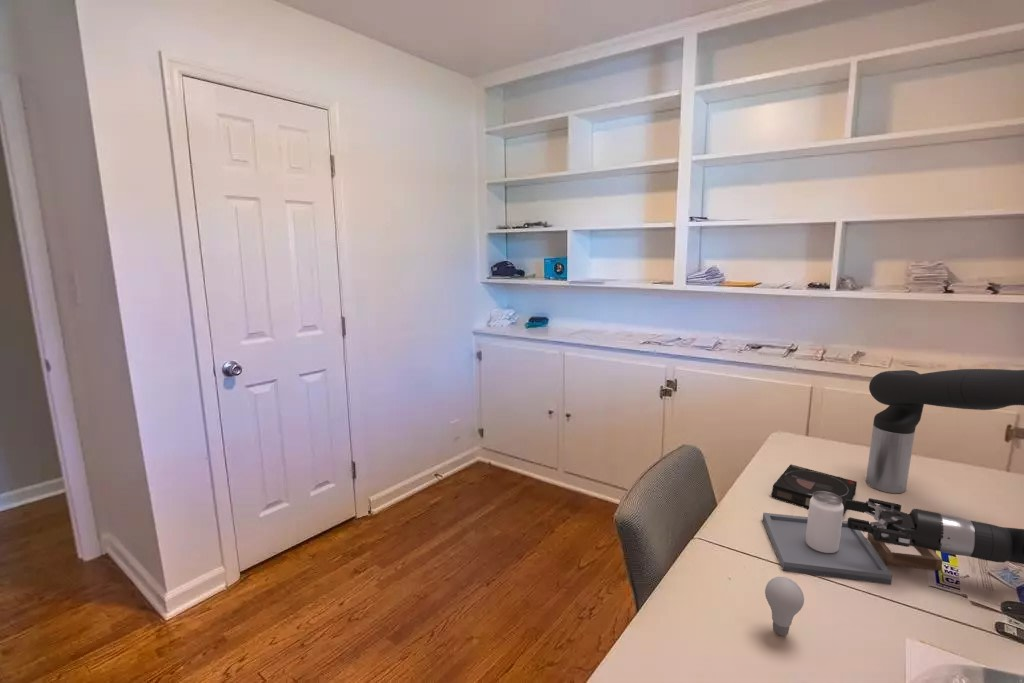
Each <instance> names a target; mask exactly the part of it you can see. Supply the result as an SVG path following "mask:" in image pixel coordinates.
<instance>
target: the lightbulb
mask: <svg viewBox="0 0 1024 683" xmlns="http://www.w3.org/2000/svg"><path fill="white" fill-rule="evenodd" d="M764 594H765V599H766V601H767V603H768V606H769V607H770V610H771V620H772V631H773V632H774V633H776V634H777V635H779V636H784V637H785V636H787V635H788V634H789V631H790V627H791V625H792V623H793V622H792V621H793V620H794V617H795V616H796V615H797V614H799V612H800V611H801V610H802V608H803V607H804V605H805V596H804V592H803V591H802V588H801V587H800V586H799V584H798V583H797V582H796V581H794V580H792V579H791V578H789V577H785V576H775V577H772V578H771V579H770V580H769V581H767V583H766V585H765V589H764Z"/></svg>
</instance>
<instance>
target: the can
mask: <svg viewBox="0 0 1024 683" xmlns="http://www.w3.org/2000/svg"><path fill="white" fill-rule="evenodd" d="M843 511H844V506H843V504H842V498H841V497H839V496H838V495H836V494H833V493H830V492H826V491H816V492H814V493H813V496H812V498H811V499H810V504H809V509H808V511H807V512H808V513H807V514H808V515H807V517H808V521H807V530H806V543H807V544H808V546H809V547H810V548H812V549H813V550H815V551H818V552H821V553H826V554H832V553H835V552H837V551H838V549H839V543H840V535H841V528H842V521H844V520H843V519H844V516H843Z"/></svg>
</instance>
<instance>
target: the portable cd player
mask: <svg viewBox="0 0 1024 683" xmlns="http://www.w3.org/2000/svg"><path fill="white" fill-rule="evenodd" d="M857 483H858V481H856V480H851V479H848V478H844V477H841V476H836V475H833V474H829V473H826V472H822V471H817V470H815V469H810V468H806V467H804V466H803V467H802V466H798V465H795V464H792V463H790V464H789V465H788V467H787V468H786V469H785V471H784V472H783V473H781V475H780V476H779V477H778V479H777V480H776V481H775V482H774V483H773V484H772V490H771V498H772V497H774V498H773V499H776V498H777V500H779V499H780V500H779V501H782V500H783V501H782V502H785V501H786V503H788V504H789V503H790V504H792V503H793V504H792V505H795V504H796V506H798V505H799V507H802V508H804V509H808V508H809V504H810V499H811V498H812V496H813V493H814V492H816V491H826V492H830V493H833V494H836V495H838V496H839V497H841V498H842V504H843V506H844V511H843V517H844V516H845V515H846V512H847V511H848V510H847V509H846V508H845V500H846V499H850V500H854V497H855V495H856V491H857Z"/></svg>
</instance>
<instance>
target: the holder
mask: <svg viewBox="0 0 1024 683" xmlns="http://www.w3.org/2000/svg"><path fill="white" fill-rule="evenodd" d="M881 537H883V536H881ZM873 538H874V536H872V535H870V534H869V533H868V532H867V541H868V542H869V543H870V545H871V546H873V547H872V548H873V549H874V550H875V552H876V553H877V554H878V556H879V557H880V559H881V560H882V561H884V562H883V563H884V564H885V566H886V565H887V566H894V567H903V568H911V569H912V568H913V569H919V570H920V569H921V570H930V571H937V570H938V571H939V572H941V571H942V566H943V562H944V561H943V559H942V558H941V557H940V556H939V555H938V554H937V553H936V550H931V549H927V548H922V547H917V546H914V547H915V549H916V550H917V551H918V552H919V553H920V554H921V555H919V554H910V553H902V552H895V551H893V552H892V551H891V549H890V548H889V547H888V546H887V544H886V543H885V542H880V541H876V540H874V539H873ZM885 538H888V537H885ZM909 546H913V545H912V544H911V543H910V545H909Z"/></svg>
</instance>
